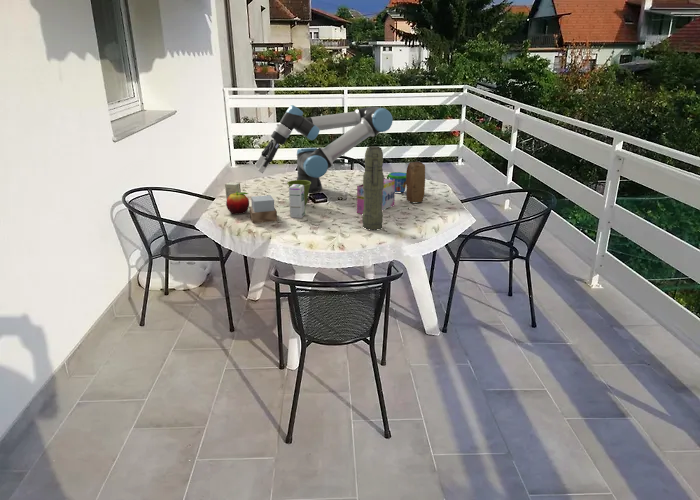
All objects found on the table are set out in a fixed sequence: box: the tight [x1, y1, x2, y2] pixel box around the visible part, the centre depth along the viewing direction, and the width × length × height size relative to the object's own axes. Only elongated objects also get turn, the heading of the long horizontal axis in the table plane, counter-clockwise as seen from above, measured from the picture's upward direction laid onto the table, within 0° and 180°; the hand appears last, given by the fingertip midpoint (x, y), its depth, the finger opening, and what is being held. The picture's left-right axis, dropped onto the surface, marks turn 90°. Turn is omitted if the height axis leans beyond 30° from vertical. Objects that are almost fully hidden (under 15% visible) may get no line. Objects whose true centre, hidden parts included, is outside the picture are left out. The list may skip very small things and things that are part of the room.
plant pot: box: [286, 179, 311, 206], centre depth 261 cm, size 12×12×11 cm
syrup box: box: [288, 184, 306, 219], centre depth 242 cm, size 6×6×14 cm
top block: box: [250, 194, 276, 212], centre depth 238 cm, size 9×9×5 cm
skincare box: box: [224, 181, 242, 200], centre depth 255 cm, size 6×4×12 cm
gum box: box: [356, 177, 396, 215], centre depth 254 cm, size 24×8×14 cm, turn 145°
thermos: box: [361, 145, 385, 231], centre depth 223 cm, size 9×12×35 cm
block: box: [405, 161, 426, 203], centre depth 267 cm, size 11×8×20 cm
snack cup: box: [386, 171, 407, 193], centre depth 286 cm, size 16×10×10 cm
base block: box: [248, 205, 278, 224], centre depth 240 cm, size 11×11×5 cm
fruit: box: [225, 191, 250, 215], centre depth 247 cm, size 11×11×10 cm
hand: (258, 169), depth 266 cm, fingers open, 13 cm apart
